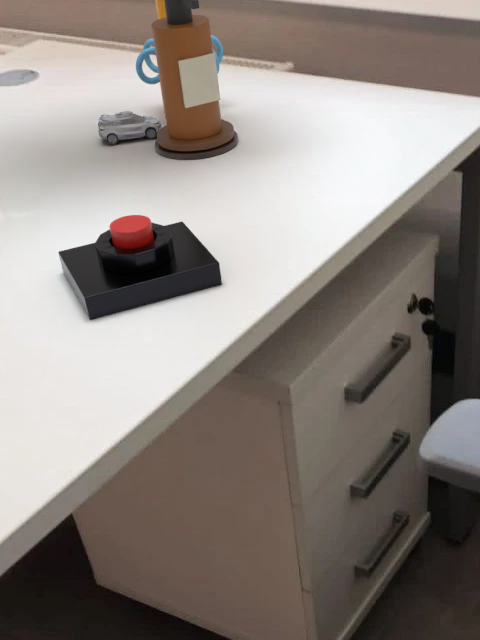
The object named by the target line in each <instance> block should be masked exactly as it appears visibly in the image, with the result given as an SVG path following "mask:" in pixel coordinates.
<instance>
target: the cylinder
mask: <svg viewBox="0 0 480 640" xmlns="http://www.w3.org/2000/svg"><path fill="white" fill-rule="evenodd" d="M154 2H155V10H156V17H157V20H158V19H161V18H165V17H167V16H166V9H165V2H164V0H154ZM211 41H212V44H214V46H215V47H216V51H215V49H213V53H215V57H216V66H217V75H218V76H219V72H220V65H221V62H222V61H223V57H224V48H223V44H222V42H221V41H220V39H219V38H218V37H216V36H214V35H213V34H211ZM151 46H154V39H153V37H152V38H148V39H146V41H145V42H144V44H143V48H142V51H141V52H140V53H139V54H138V56H137V58H136V60H135V71H136V74H137V77H138V78H139V79H140V80H141V81H142V82H143V83H145V84H147V85H156V84H158V83H159V86H160V88H161V84H160V78H159V71H158V65H156V64H154V63H153V61H152V59H151V55H152V56H153V55H154V56H156V52H155V47H151ZM144 62H145V64H146V65H147V67H148V69H150V70H151V71H152V72H153V73H156V74H157V75H156V76H154V77H150V76H147V75H146V74H145V72H144V70H143V63H144ZM160 93H161V95H162V90H161V89H160ZM161 99H162V101H163V97H162V96H161ZM162 107H164V103H163V102H162ZM163 112H164V113H165V109H164V108H163Z"/></svg>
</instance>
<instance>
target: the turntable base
mask: <svg viewBox="0 0 480 640" xmlns="http://www.w3.org/2000/svg"><path fill="white" fill-rule="evenodd" d="M238 143H239V135H238V133H237V131H235V130H234V137H233V138H232V139H231V140H230V141H229V142H227V143H225V144H223V145H220V146H218V147H214V148H211V149H206V150H200V151H174V150H169V149H165V148H163V147H161V146H160V145H159V144H158V141H157V138H156V139H155V141H154V148H155V149H154V150H155V151H156V153H157V154H159V156H162V157H165V158H169V159H172V160H173V159H174V160H200V159H206V158H213V157H216V156H219V155H222V154H225V153H227V152H229V151H231V150H232V149H234V148H235V147H236V146H237V145H238Z"/></svg>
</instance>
